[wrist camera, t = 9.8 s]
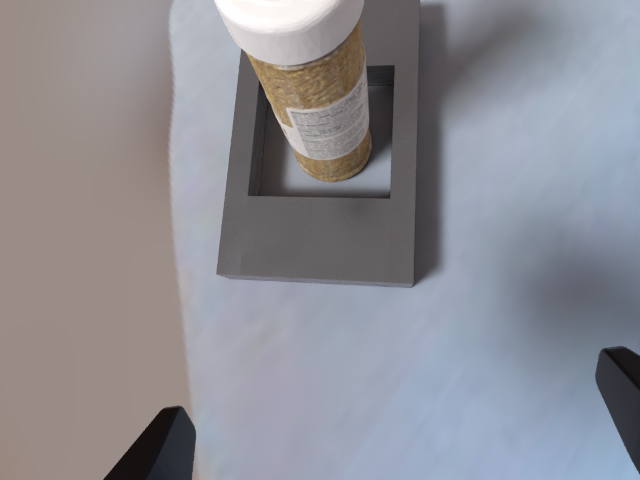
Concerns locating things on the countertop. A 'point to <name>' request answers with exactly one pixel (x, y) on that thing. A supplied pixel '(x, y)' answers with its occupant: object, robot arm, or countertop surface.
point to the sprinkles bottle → (310, 76)
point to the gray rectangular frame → (321, 212)
